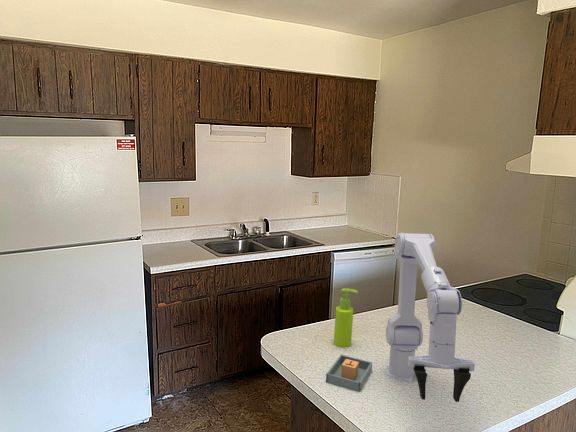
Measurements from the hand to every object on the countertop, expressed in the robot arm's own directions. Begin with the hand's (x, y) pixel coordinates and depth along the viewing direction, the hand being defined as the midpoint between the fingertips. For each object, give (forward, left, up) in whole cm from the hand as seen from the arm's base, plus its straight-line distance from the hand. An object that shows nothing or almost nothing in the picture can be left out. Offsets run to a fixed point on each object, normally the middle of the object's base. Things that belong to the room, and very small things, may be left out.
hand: (439, 398), depth 100 cm
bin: (-16, -26, -11) cm, 33 cm away
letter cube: (-16, -26, -10) cm, 32 cm away
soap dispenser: (-35, -34, -11) cm, 50 cm away
